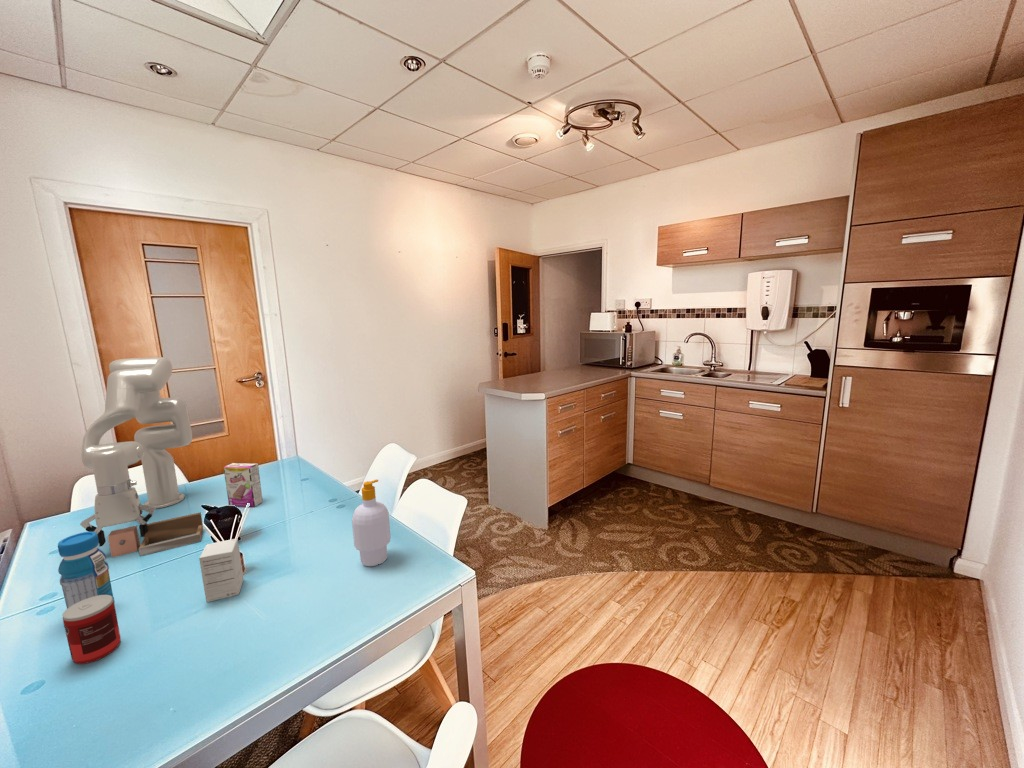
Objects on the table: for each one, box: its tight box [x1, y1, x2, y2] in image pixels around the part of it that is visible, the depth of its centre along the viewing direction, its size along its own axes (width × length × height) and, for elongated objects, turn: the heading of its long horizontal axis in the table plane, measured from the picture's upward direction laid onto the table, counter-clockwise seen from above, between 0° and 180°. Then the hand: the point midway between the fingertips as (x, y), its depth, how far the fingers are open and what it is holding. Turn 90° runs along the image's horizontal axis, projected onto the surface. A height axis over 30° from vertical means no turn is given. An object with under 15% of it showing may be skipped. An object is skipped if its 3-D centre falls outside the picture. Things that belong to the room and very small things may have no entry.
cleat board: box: [138, 512, 204, 557], centre depth 135 cm, size 9×15×6 cm, turn 122°
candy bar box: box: [223, 462, 264, 508], centre depth 162 cm, size 11×5×16 cm, turn 84°
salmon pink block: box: [107, 525, 141, 558], centre depth 130 cm, size 5×6×7 cm
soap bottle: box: [351, 479, 391, 567], centre depth 121 cm, size 10×10×24 cm
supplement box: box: [199, 538, 244, 603], centre depth 110 cm, size 7×7×13 cm
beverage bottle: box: [57, 531, 116, 609], centre depth 102 cm, size 8×8×20 cm
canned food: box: [62, 595, 122, 665], centre depth 90 cm, size 8×8×11 cm
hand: (123, 539), depth 130 cm, fingers open, 9 cm apart
